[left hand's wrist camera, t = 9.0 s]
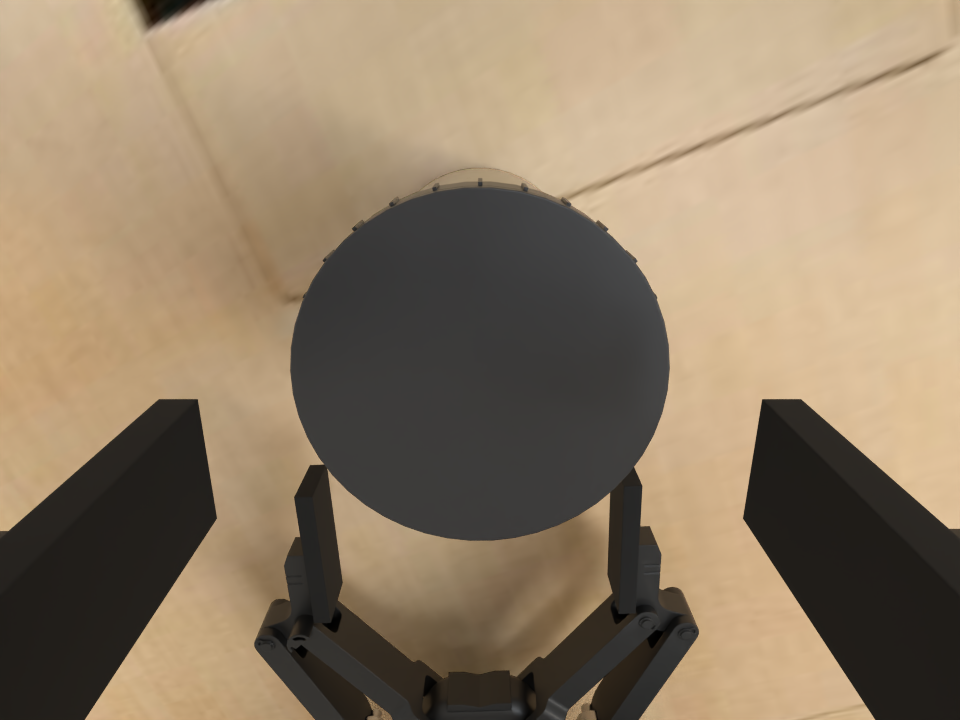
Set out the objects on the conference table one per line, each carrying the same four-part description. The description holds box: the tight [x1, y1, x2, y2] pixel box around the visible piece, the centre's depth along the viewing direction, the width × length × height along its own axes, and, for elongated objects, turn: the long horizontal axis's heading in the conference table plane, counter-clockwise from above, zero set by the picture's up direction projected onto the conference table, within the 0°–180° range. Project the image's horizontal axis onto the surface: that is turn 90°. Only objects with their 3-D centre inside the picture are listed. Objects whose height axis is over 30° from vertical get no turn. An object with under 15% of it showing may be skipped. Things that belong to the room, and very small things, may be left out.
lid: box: [290, 178, 670, 541], centre depth 18 cm, size 10×10×2 cm
